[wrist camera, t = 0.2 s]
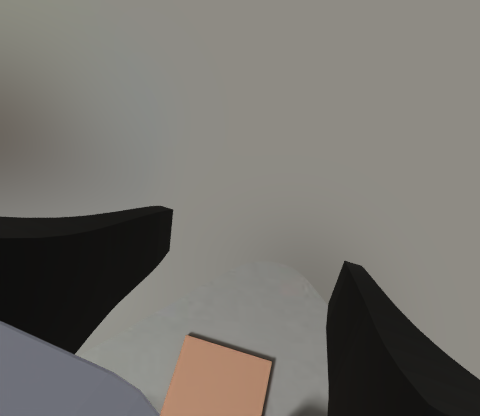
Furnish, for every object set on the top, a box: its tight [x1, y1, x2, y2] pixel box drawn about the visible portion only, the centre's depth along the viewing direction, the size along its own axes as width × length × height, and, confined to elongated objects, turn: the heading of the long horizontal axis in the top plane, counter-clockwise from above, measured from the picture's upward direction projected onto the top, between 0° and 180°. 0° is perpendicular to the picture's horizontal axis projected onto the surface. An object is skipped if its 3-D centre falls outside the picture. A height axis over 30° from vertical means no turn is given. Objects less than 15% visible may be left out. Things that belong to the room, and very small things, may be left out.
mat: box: [160, 335, 272, 416], centre depth 35 cm, size 12×12×1 cm
